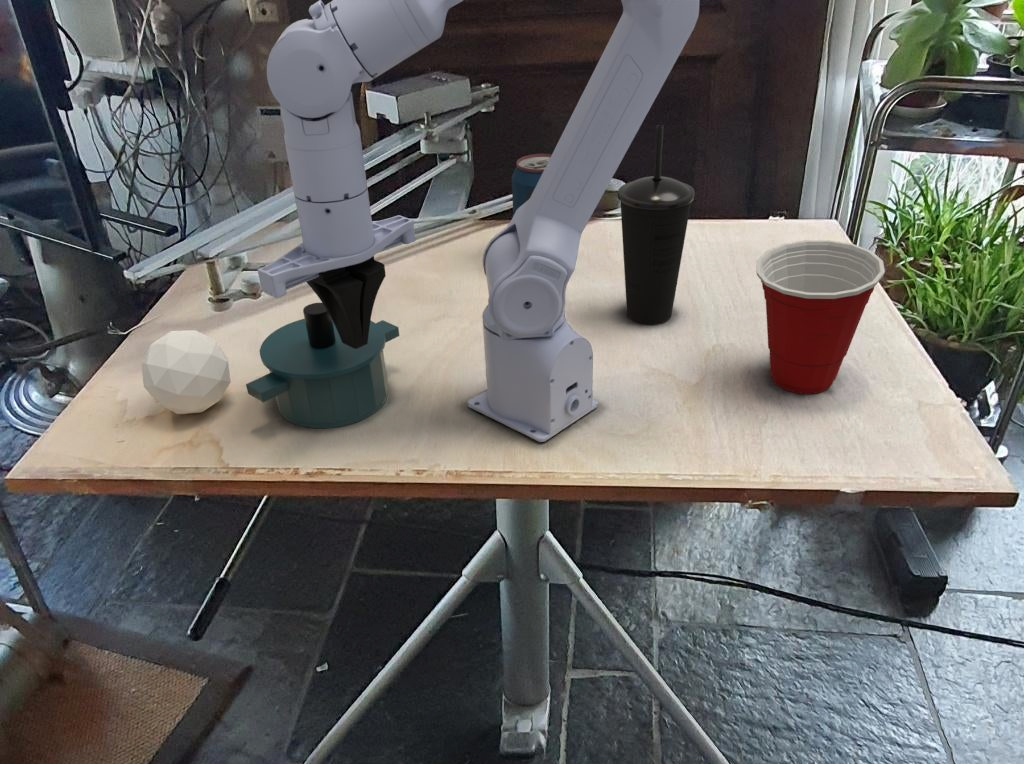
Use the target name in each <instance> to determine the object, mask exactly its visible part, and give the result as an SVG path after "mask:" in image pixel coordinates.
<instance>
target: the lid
mask: <svg viewBox="0 0 1024 764" xmlns="http://www.w3.org/2000/svg"><path fill="white" fill-rule="evenodd" d="M302 312H303V317H304V318H302V319H298V320H295V321H293V322H290V323H287V324H284V325H283V326H280V327H279V328H277V329H276V330H274V331H273V332H271V333H270V334H269V335H268V336H267V337H266V338H265V339H264V340H263V342H262V343H261V345H260V347H259V357H260V361H261V363H262V364H263V366H264V367H265V368H266V369H267V370H268V371H269V370H270V371H272V372H274V373H276V374H279V375H282V376H285V377H290V378H297V379H321V378H329V377H334V376H339V375H343V374H346V373H349V372H352V371H355V370H357V369H360V368H362V367H364V366H366V365H367V364H369V363H370V362H372V361H373V360H375V359H376V358H377V357H378V356H379V355H380V354H381V352H382V351H383V352H384V349H385V346H386V343H385V335H384V332H383V330H382V329H381V327H380V326H379V325H377V324H376V323H377V322H374V321H372V320H371V321H370V327H369V335H368V343H367V344H366V345H364V346H362V347H360V348H358V349H354V348H352V347H350V346H348V345H346V344H344V343H342V341H341V338H340V336H339V333H338V331H337V329H336V326H335V324H334V322H333V320H332V318H331V316H330V314H329V313H328V311H327V309H326V308H325V306H324V304H323V303H322V302H313V303H309V304H307V305H305V306H304V307H303V309H302ZM270 371H269V372H270Z"/></svg>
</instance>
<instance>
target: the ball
mask: <svg viewBox="0 0 1024 764" xmlns="http://www.w3.org/2000/svg"><path fill="white" fill-rule="evenodd" d="M229 366H230V365H229V358H228V357H227V355H226V354H225V352H224V351H223V349H222V348H221V346H220V345H219V344H218V342H217V341H216V340H214V339H213V338H211V337H209V336H207V335H206V334H204V333H201V331H198V330H197V329H194V330H193V329H192V330H191V329H190V330H170V331H168V333H165V334H164V335H162V336H161V337H159V338H158V339H157V340H155V341H154V342H152V343H150V345H149V347H148V349H147V351H146V353H145V354H144V356H143V358H142V360H141V372H142V384H143V388H144V389H145V390H146V391H147V392H148V394H149V395H150V396H151V398H153V400H154V401H155V402H156V403H157V404H158V405H160V406H162V407H163V408H165V409H167V410H169V411H171V412H172V413H174V414H176V415H185V414H186V415H188V414H199V413H200V414H201V413H203V412H205V411H206V410H208V409H209V408H210V407H212V406H213V405H215V404H217V403H218V402H219V401H221V400H222V398H223V396H224V394H226V393H225V392H226V391H227V389H228V388H229V386H230V385H231V383H232V381H231V373H230V367H229Z"/></svg>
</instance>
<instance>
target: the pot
mask: <svg viewBox="0 0 1024 764" xmlns="http://www.w3.org/2000/svg"><path fill="white" fill-rule="evenodd" d="M375 323H376V324H377V325H379V326H380V327H381V329H382V330H383V332H384V335H385V344H386V343H388V342H390V341H392V340H394V339H396V338H398V337H400V329H399V327H398V326H397V325H395V324H392V323H391V322H389V321H386V320H384V319H382V320H380V321H377V322H375ZM385 360H386V359H385V355H384V350H383V351H382V352H381V354H380V355H379V356H378V357H377V358H376V359H375V360H373V361H372V362H370V363H369V364H367V365H366V366H364V367H362V368H360V369H357V370H355V371H352V372H349V373H346V374H343V375H339V376H334V377H329V378H321V379H297V378H290V377H285V376H282V375H279V374H276V373H274V372H272V371H270V370H269V369H268V371H269V372H268V373H267V374H265V375H262V376H261V377H258V378H256V379H254V380H252V381H249V382H248V383H246V384H245V387H246V390H247V394H248V395H250V396H252V397H253V398H255V399H256V400H257V401H259V402H260V403H266V402H268V401H270V400H271V399H274V398H275V402H276V405H277V408H278V411H279V413H280V414H281V416H282V417H283V418H284V419H285V420H287V421H288V422H290V423H292V424H294V425H297V426H300V427H303V428H311V429H334V428H341V427H344V426H349V425H353V424H355V423H358V422H361V421H363V420H365V419H367V418H369V417H370V416H373V415H374V414H376V412H378V411H379V410H380V409H382V407H383V406H384V404H385V403H386V401H387V399H388V397H389V396H388V395H389V389H388V387H389V384H388V376H387V368H386V361H385Z"/></svg>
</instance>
